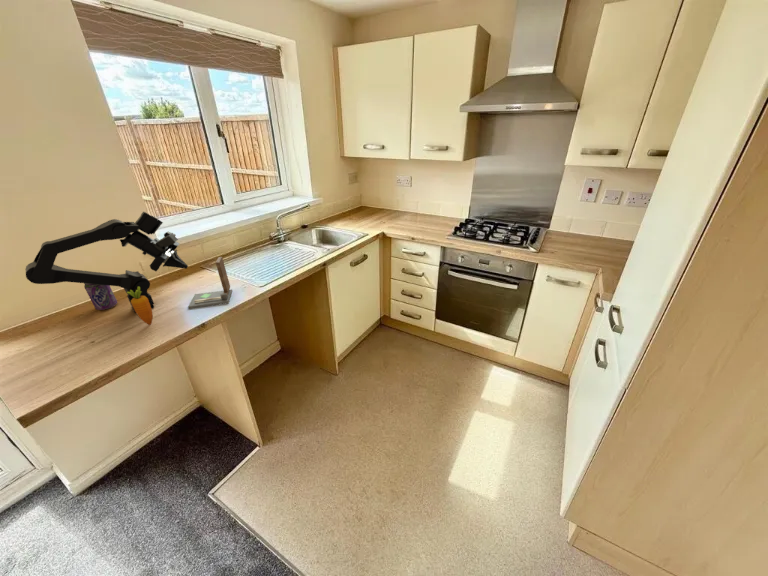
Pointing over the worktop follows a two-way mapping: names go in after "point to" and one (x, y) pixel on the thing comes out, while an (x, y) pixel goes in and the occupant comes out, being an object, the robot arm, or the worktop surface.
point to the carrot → (141, 306)
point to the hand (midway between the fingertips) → (187, 267)
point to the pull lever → (223, 279)
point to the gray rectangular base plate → (210, 302)
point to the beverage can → (101, 296)
